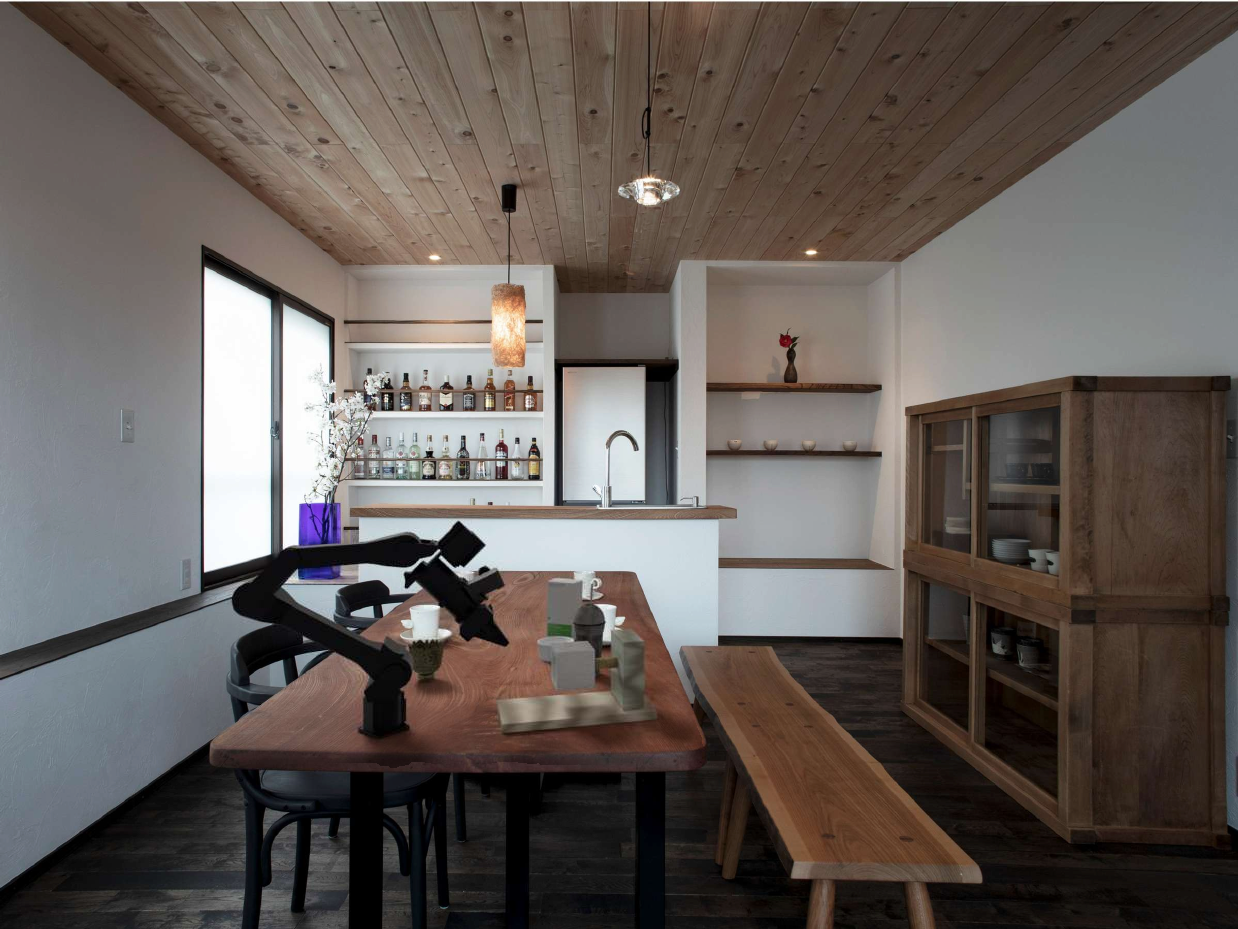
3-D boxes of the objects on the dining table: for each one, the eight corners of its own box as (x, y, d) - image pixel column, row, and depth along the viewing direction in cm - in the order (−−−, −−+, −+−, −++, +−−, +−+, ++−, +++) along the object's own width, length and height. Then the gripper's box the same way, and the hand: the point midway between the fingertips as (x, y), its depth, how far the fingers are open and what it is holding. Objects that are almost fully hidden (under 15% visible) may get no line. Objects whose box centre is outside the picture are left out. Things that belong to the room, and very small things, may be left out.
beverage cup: (566, 676, 152) (566, 585, 152) (583, 667, 158) (583, 580, 159) (595, 681, 149) (595, 588, 149) (611, 672, 155) (611, 583, 155)
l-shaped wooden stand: (502, 733, 119) (502, 652, 120) (497, 707, 132) (497, 634, 132) (657, 719, 126) (657, 642, 126) (638, 696, 139) (638, 626, 139)
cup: (434, 686, 145) (434, 648, 145) (401, 684, 147) (402, 646, 147) (449, 675, 152) (449, 639, 152) (419, 673, 154) (419, 637, 154)
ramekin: (540, 664, 161) (540, 646, 161) (534, 655, 170) (534, 637, 170) (577, 662, 164) (577, 643, 164) (570, 652, 172) (570, 635, 172)
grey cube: (556, 691, 125) (556, 652, 125) (551, 679, 132) (551, 643, 132) (594, 688, 126) (594, 650, 126) (587, 677, 133) (587, 641, 133)
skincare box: (545, 639, 185) (545, 581, 185) (554, 633, 191) (554, 577, 191) (574, 641, 182) (574, 582, 182) (583, 635, 189) (583, 578, 189)
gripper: (480, 560, 116) (545, 623, 119) (476, 548, 134) (532, 602, 137) (431, 609, 114) (498, 672, 117) (433, 590, 132) (492, 644, 135)
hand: (507, 644), depth 126 cm, fingers closed
